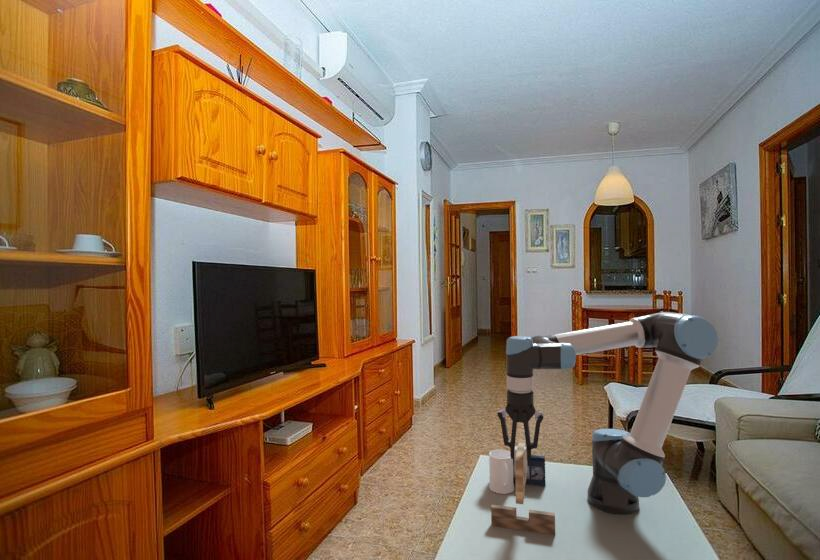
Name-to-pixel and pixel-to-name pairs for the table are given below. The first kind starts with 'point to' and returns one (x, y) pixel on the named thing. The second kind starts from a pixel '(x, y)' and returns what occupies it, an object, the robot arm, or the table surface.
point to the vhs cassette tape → (534, 471)
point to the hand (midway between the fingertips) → (521, 470)
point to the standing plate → (523, 520)
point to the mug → (501, 471)
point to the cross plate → (520, 472)
